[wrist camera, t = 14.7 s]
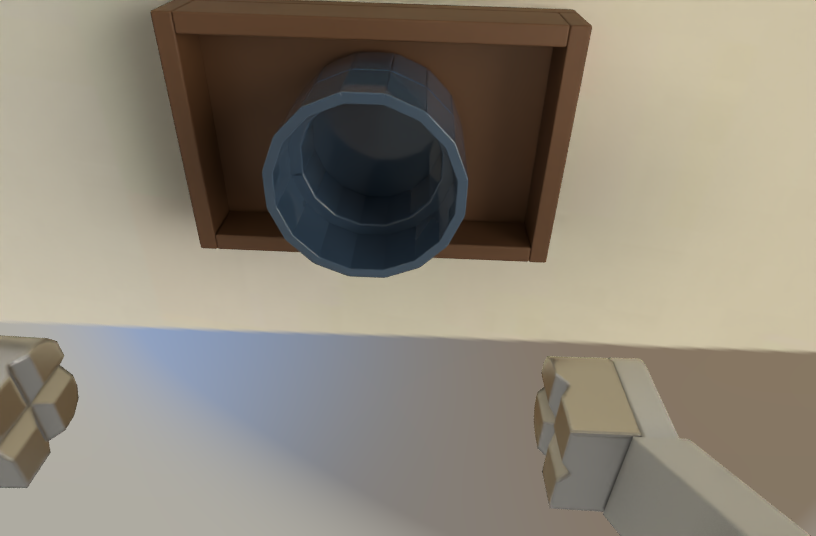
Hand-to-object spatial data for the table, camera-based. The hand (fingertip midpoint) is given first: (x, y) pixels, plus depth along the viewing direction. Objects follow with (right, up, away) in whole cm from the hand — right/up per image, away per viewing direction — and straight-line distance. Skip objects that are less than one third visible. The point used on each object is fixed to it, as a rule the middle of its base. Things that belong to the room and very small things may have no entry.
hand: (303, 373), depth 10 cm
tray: (+1, +7, +10) cm, 12 cm away
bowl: (+1, +6, +10) cm, 12 cm away
